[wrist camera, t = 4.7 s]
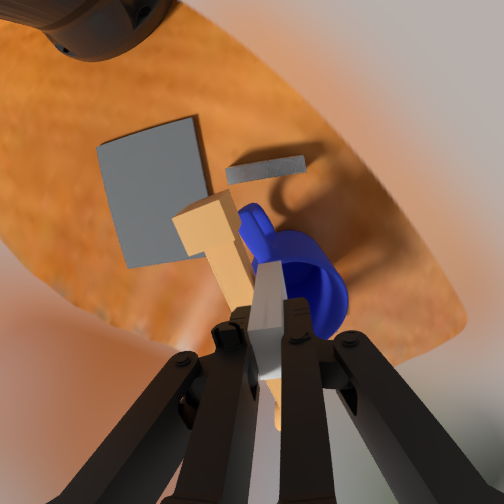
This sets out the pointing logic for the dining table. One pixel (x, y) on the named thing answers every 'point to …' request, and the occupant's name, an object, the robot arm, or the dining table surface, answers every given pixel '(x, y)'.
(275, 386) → the ball-tipped wooden rod
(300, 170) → the dock
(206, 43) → the dining table surface
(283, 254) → the mug
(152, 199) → the coaster
